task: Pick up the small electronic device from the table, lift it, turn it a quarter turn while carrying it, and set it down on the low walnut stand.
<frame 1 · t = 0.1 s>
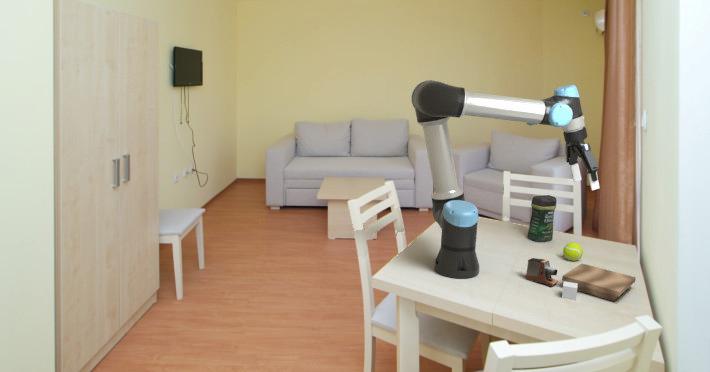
hand: (586, 185, 189), 28 cm above the table, tool tilted 20°, fingers open, 13 cm apart
electronic device: (541, 282, 171), on the table
stand: (597, 288, 167), on the table
coffee jar: (540, 239, 215), on the table
grey block: (568, 296, 160), on the table
tennis ball: (571, 260, 192), on the table
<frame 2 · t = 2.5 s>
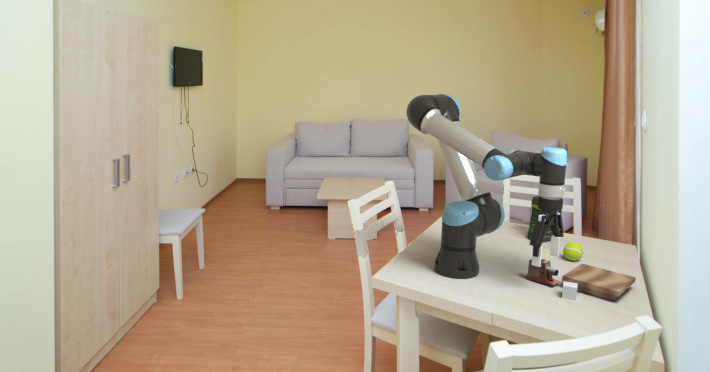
hand: (545, 260, 169), 7 cm above the table, tool pointing down, fingers open, 13 cm apart
nothing on the table moved.
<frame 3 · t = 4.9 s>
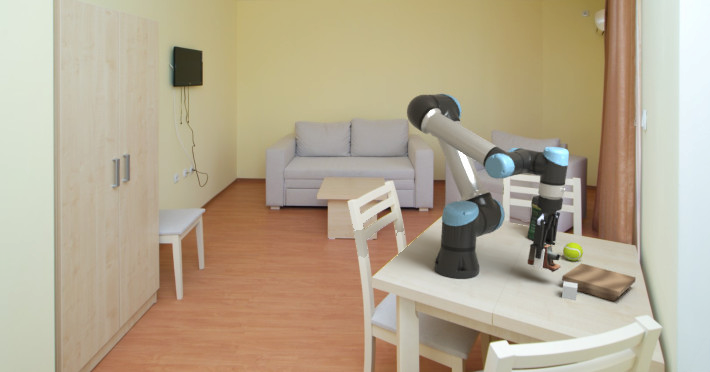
hand: (541, 265, 171), 6 cm above the table, tool pointing down, fingers closed on electronic device, 4 cm apart
electronic device: (543, 267, 170), point 5 cm above the table, touching gripper
everything else where it was.
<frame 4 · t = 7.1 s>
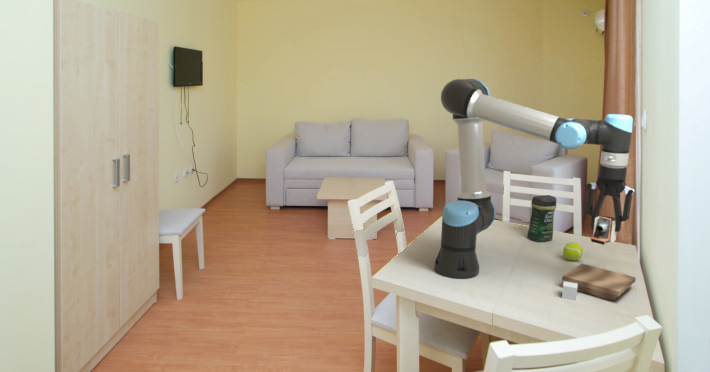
hand: (604, 238, 163), 17 cm above the table, tool pointing down, fingers closed on electronic device, 4 cm apart
electronic device: (602, 241, 163), point 16 cm above the table, touching gripper
everything else where it was.
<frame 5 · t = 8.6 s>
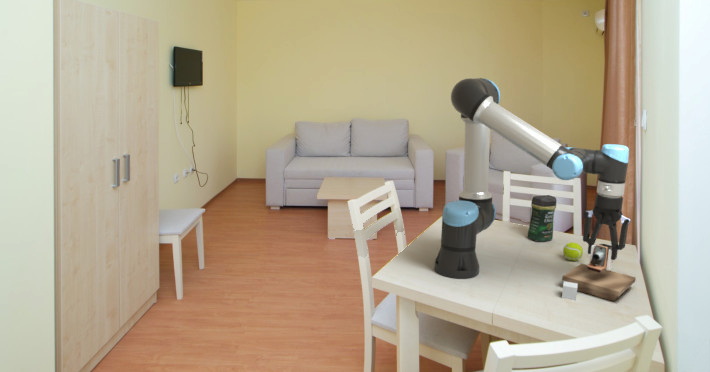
hand: (600, 266, 165), 7 cm above the table, tool pointing down, fingers closed on electronic device, 4 cm apart
electronic device: (599, 268, 165), point 7 cm above the table, touching gripper
everything else where it was.
when the fingers open (5 cm above the table, at t = 9.6 s): electronic device stays where it is, resting on stand.
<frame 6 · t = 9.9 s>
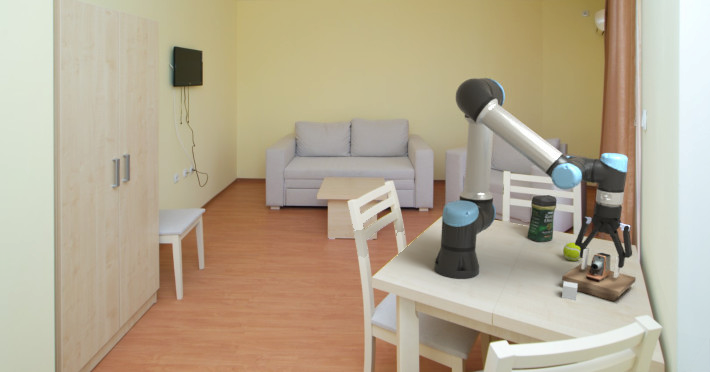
hand: (599, 272, 166), 6 cm above the table, tool pointing down, fingers open, 9 cm apart
electronic device: (597, 277, 166), point 4 cm above the table, touching stand
everything else where it was.
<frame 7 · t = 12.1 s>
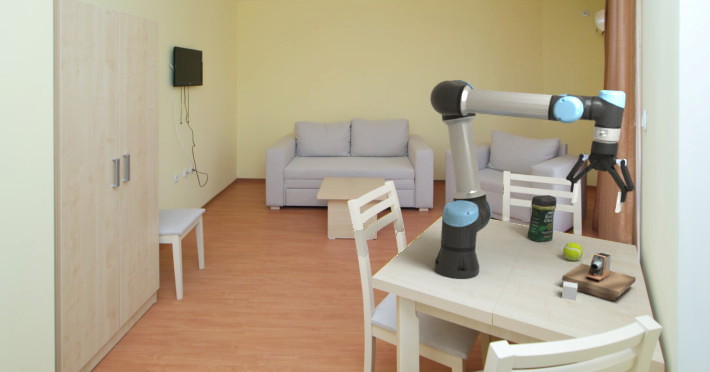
hand: (595, 207, 166), 25 cm above the table, tool pointing down, fingers open, 13 cm apart
nothing on the table moved.
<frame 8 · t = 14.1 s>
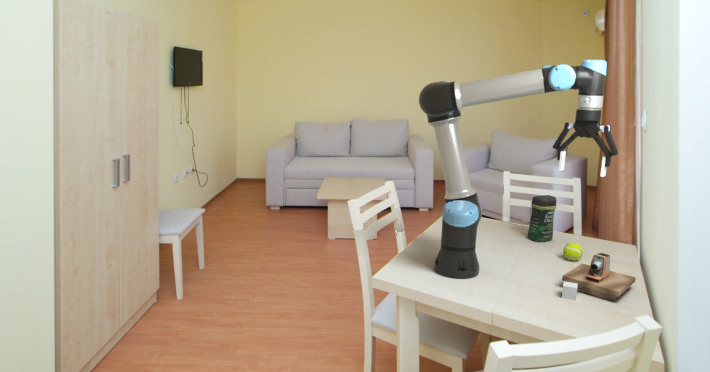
hand: (581, 173, 173), 35 cm above the table, tool pointing down, fingers open, 13 cm apart
nothing on the table moved.
at the end: electronic device inside the target area on the stand (1.2 cm from its centre), point 3.8 cm above the stand's base; electronic device touching stand; the gripper is holding nothing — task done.
